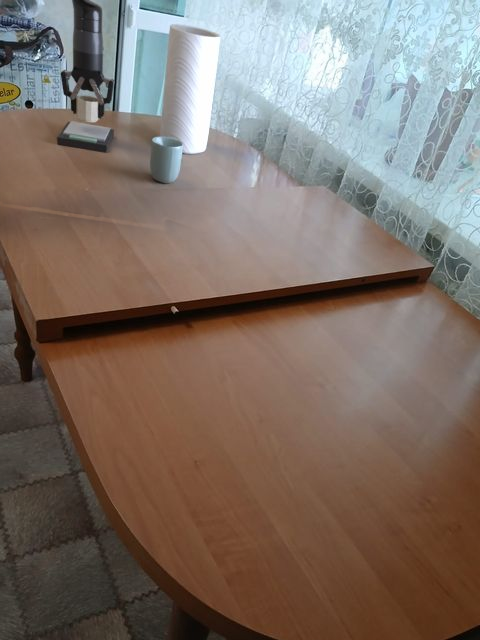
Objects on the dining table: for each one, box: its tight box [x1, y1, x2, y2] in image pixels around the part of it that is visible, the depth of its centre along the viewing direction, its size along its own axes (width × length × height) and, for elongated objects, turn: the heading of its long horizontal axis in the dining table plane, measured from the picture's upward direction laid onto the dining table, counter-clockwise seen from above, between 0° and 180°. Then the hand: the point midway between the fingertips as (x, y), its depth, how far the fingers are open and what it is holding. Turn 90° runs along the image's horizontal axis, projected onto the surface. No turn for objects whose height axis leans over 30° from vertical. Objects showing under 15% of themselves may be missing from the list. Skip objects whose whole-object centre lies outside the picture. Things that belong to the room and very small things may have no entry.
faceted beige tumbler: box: [75, 94, 100, 123], centre depth 151 cm, size 6×6×6 cm
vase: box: [159, 23, 221, 155], centre depth 158 cm, size 14×14×32 cm
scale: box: [56, 120, 115, 153], centre depth 154 cm, size 13×15×3 cm
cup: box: [149, 135, 183, 184], centre depth 140 cm, size 8×8×10 cm
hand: (87, 115), depth 152 cm, fingers closed on faceted beige tumbler, 6 cm apart
